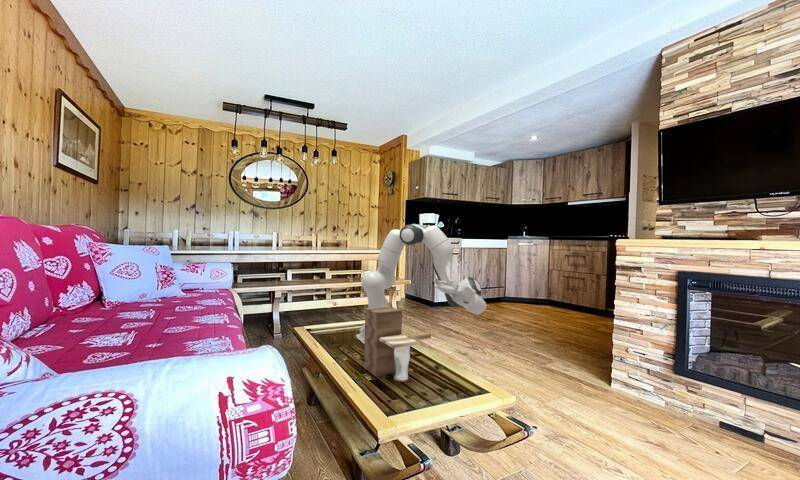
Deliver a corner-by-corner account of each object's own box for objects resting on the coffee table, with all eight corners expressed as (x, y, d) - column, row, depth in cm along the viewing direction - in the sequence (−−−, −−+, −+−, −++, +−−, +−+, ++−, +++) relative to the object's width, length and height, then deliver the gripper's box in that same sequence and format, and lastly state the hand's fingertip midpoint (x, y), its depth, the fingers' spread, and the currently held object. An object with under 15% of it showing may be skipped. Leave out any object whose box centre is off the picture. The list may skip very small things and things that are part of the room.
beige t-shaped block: (379, 340, 139) (379, 336, 139) (421, 334, 150) (421, 330, 150) (393, 348, 130) (393, 343, 130) (436, 340, 141) (436, 336, 141)
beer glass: (409, 375, 141) (410, 339, 141) (408, 382, 134) (409, 344, 134) (393, 374, 142) (394, 338, 142) (391, 381, 135) (392, 343, 135)
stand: (363, 367, 149) (365, 308, 149) (387, 363, 155) (389, 306, 155) (375, 376, 139) (377, 313, 139) (400, 371, 146) (402, 310, 146)
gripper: (449, 285, 170) (430, 272, 164) (479, 291, 153) (459, 277, 146) (443, 297, 168) (424, 284, 162) (473, 304, 151) (453, 290, 145)
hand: (441, 280), depth 154 cm, fingers open, 8 cm apart
